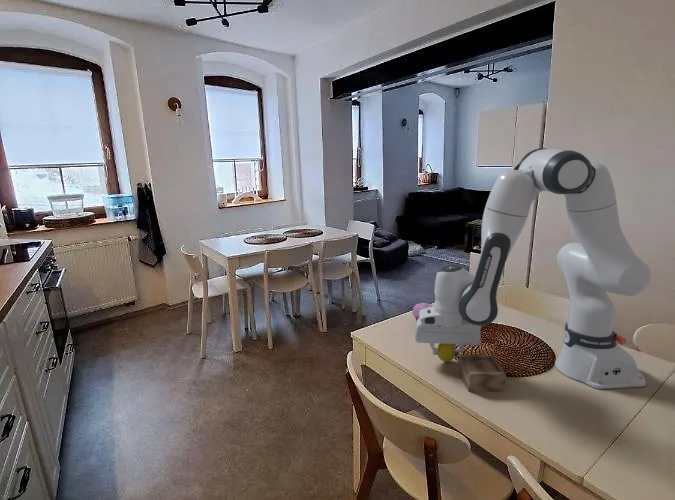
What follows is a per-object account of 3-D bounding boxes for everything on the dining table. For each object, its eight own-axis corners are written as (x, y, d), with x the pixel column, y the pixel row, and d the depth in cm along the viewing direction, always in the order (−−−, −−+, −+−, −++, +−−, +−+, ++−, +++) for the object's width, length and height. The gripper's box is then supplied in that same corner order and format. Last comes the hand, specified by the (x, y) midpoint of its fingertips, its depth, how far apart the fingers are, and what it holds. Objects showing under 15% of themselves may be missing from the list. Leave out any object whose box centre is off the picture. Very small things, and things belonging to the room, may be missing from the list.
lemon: (455, 367, 114) (456, 345, 112) (437, 366, 115) (438, 344, 113) (453, 358, 119) (454, 336, 117) (436, 356, 120) (437, 335, 118)
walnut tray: (490, 371, 112) (492, 354, 110) (504, 392, 102) (506, 373, 100) (458, 371, 112) (459, 354, 110) (468, 392, 102) (469, 374, 101)
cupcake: (434, 334, 135) (435, 309, 132) (410, 331, 138) (411, 307, 135) (435, 323, 143) (436, 300, 141) (413, 321, 146) (414, 298, 143)
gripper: (480, 312, 114) (477, 350, 117) (414, 310, 117) (413, 347, 121) (485, 321, 108) (481, 361, 111) (415, 318, 111) (414, 358, 115)
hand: (445, 354), depth 116 cm, fingers closed on lemon, 5 cm apart
